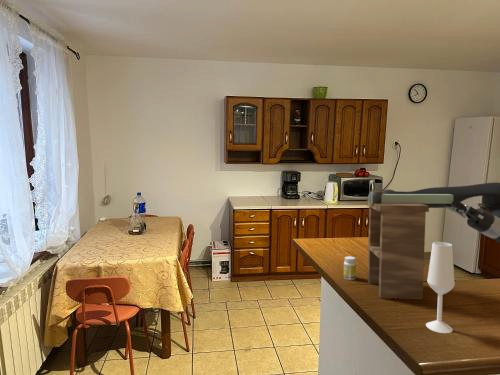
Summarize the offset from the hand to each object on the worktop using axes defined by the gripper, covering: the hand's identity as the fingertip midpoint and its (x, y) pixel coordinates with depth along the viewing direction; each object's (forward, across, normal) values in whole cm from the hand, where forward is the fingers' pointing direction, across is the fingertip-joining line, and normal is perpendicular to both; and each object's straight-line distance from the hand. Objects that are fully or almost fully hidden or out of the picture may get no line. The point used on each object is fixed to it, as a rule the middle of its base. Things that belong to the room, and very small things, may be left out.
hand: (446, 200), depth 121 cm
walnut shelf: (-2, 0, +37) cm, 37 cm away
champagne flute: (-4, +28, +36) cm, 46 cm away
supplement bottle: (+10, -12, +44) cm, 47 cm away
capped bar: (+10, 0, +7) cm, 12 cm away
